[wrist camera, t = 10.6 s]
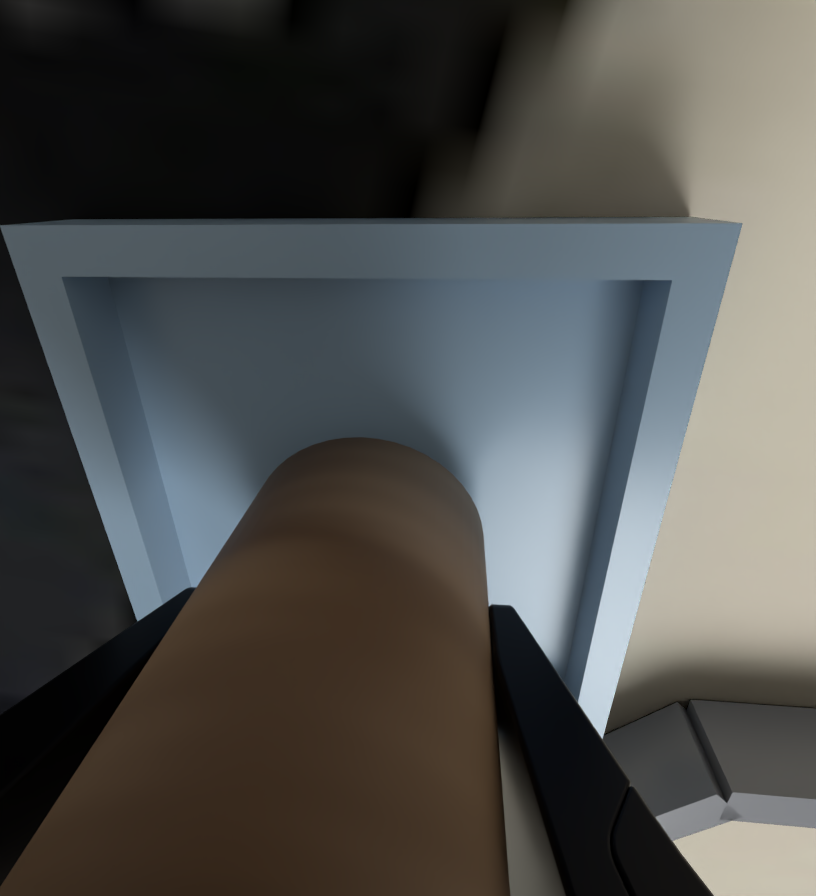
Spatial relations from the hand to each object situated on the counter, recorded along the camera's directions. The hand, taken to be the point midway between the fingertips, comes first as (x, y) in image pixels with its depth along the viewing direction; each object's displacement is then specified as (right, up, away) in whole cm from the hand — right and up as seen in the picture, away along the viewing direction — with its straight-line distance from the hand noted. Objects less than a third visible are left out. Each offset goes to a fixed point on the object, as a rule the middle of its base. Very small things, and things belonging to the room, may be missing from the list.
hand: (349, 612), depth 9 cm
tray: (0, +2, +3) cm, 4 cm away
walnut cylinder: (0, +1, +2) cm, 2 cm away
